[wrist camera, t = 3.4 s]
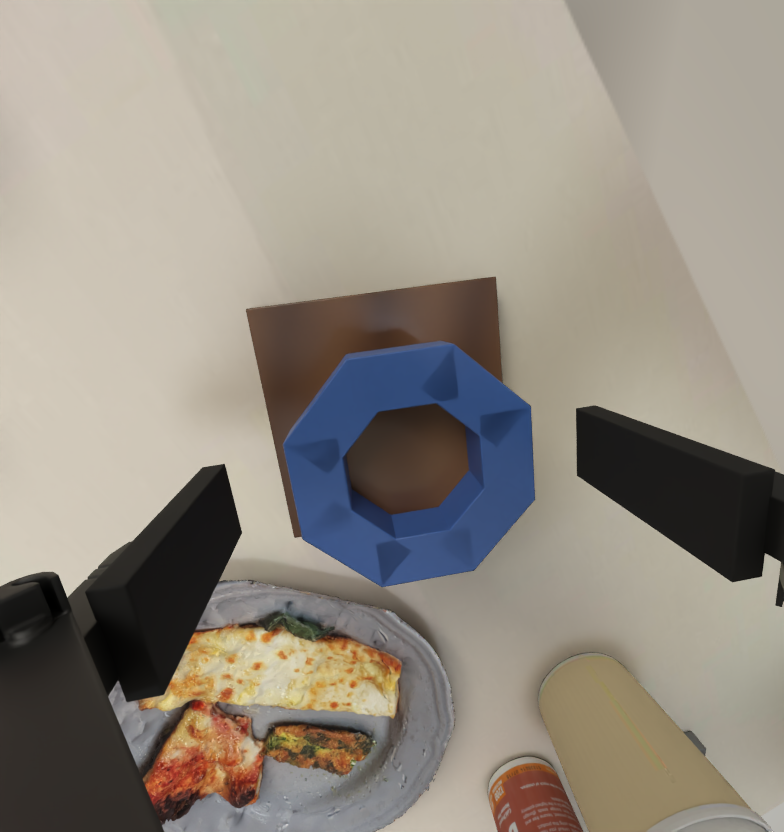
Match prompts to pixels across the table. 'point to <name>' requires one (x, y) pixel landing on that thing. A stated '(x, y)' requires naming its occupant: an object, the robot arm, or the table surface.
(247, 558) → the table surface
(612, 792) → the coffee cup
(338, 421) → the ring
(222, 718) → the food plate
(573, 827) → the pill bottle
